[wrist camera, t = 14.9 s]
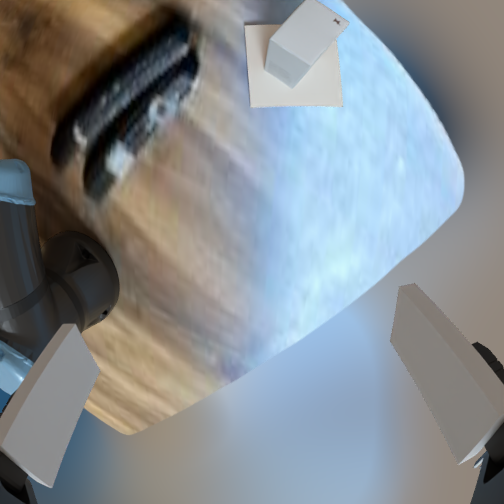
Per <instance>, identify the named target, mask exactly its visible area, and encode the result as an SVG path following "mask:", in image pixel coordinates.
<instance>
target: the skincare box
mask: <svg viewBox="0 0 504 504" xmlns="http://www.w3.org/2000/svg"><path fill="white" fill-rule="evenodd" d="M348 25H349V22H348V21H347V20H345V19H344V18H342V17H341V16H339V15H338V14H337V13H335V12H334V11H332V10H331V9H329V8H328V7H326V6H325V5H323V4H321V3H320V2H318V1H317V0H304V1H303V2H302V3H301V4H300V5H299V6H298V7H297V8H296V9H295V10H294V11H293V13H292V14H291V15H290V16H289V17H288V18H287V19H286V20H285V21H284V23H283V24H282V25H281V26H280V27H279V28H278V29H277V30H276V31H275V33H274V34H273V35H272V36H271V37H270V38H269V44H268V49H267V55H266V61H265V67H264V70H265V71H266V72H268V73H269V74H271V75H273V76H274V77H275V78H277V79H278V80H280V81H281V82H283V83H284V84H285V85H287V86H288V87H290V88H291V89H293V88H294V87H295V86H296V85H297V84H298V82H299V81H300V80H301V79H302V78H303V77H304V75H305V74H306V73H307V72H308V71H309V69H310V68H311V67H312V66H313V65H314V64H315V62H316V61H317V60H318V59H319V58H320V57H321V55H322V54H323V53H324V52H325V51H326V50H327V49H328V47H329V46H330V45H331V44H332V43H333V42H334V41H335V40H336V39H337V38H338V36H339V35H340V34H341V33H342V32H343V31H344V30H345V28H346V27H347V26H348Z"/></svg>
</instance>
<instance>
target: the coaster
mask: <svg viewBox="0 0 504 504" xmlns="http://www.w3.org/2000/svg"><path fill="white" fill-rule="evenodd" d="M280 26H281V25H247V26H245V38H246V51H247V64H248V78H249V91H250V105H251V108H263V107H343V100H342V87H341V76H340V66H339V56H338V48H337V40H335V41H334V42H333V43H332V44H331V45H330V46H329V47H328V49H327V50H326V51H325V52H324V53H323V54H322V55H321V57H320V58H319V59H318V60H317V61H316V62H315V64H314V65H313V66H312V67H311V68H310V69H309V71H308V72H307V73H306V74H305V75H304V77H303V78H302V79H301V80H300V81H299V82H298V84H297V85H296V86H295V87H294V88H293V89H291V88H290V87H288V86H287V85H285V84H284V83H283V82H281V81H280V80H278V79H277V78H275V77H274V76H273V75H271V74H269V73H268V72H266V71H265V70H264V67H265V61H266V55H267V49H268V44H269V38H270V37H271V36H272V35H273V34H274V33H275V31H276V30H277V29H278V28H279V27H280Z"/></svg>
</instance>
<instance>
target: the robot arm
mask: <svg viewBox="0 0 504 504" xmlns="http://www.w3.org/2000/svg"><path fill="white" fill-rule="evenodd" d="M35 204H36V201H35V199H34V198H33V192H32V184H31V174H30V170H29V167H28V165H27V164H26V163H25V162H24V161H22V160H20V159H3V160H0V388H1V389H2V390H4V391H5V392H7V393H9V394H10V395H11V397H10V398H9V400H8V402H7V403H6V404H7V405H6V406H5V407H4V408H3V410H2V413H0V504H37V501H36V498H35V495H34V491H33V488H32V485H31V483H30V481H29V480H28V479H27V476H28V475H29V476H31V477H32V478H33V479H34V480H36V481H37V482H38V483H41V484H43V485H46V486H48V487H50V488H52V486H53V484H54V481H55V478H56V475H57V472H58V469H59V466H60V464H61V461H62V459H63V456H64V453H65V451H66V448H67V445H68V443H69V440H70V438H71V435H72V433H73V431H74V428H75V426H76V423H77V421H78V419H79V416H80V414H81V411H82V409H83V407H84V405H85V403H86V400H87V398H88V396H89V394H90V392H91V389H92V387H93V385H94V383H95V381H96V379H97V377H98V375H99V372H100V369H99V367H98V366H97V364H96V362H95V360H94V359H93V357H92V355H91V353H90V351H89V349H88V347H87V346H86V344H85V342H84V340H83V338H82V336H81V333H82V332H83V331H84V330H86V329H88V328H90V327H91V326H93V325H95V324H97V323H99V322H100V321H102V320H104V319H105V318H106V317H107V316H108V315H109V314H110V312H111V311H112V309H113V308H114V306H115V305H116V303H117V301H118V297H119V279H118V275H117V272H116V269H115V267H114V265H113V263H112V261H111V259H110V257H109V256H108V255H107V253H106V252H105V251H104V249H103V248H102V247H101V246H100V245H99V244H98V243H96V242H95V241H94V240H93V239H91V238H90V237H88V236H86V235H84V234H81V233H78V232H73V231H67V232H62V233H59V234H57V235H55V236H54V237H52V238H51V239H49V240H48V241H47V242H46V243H45V244H44V245H43V246H42V248H40V242H39V236H38V230H37V223H36V216H35V208H34V205H35ZM390 342H391V343H392V345H393V346H394V348H395V350H396V352H397V353H398V355H399V356H400V358H401V360H402V362H403V363H404V365H405V366H406V368H407V370H408V372H409V373H410V375H411V377H412V378H413V380H414V382H415V384H416V385H417V387H418V389H419V391H420V392H421V394H422V396H423V398H424V400H425V401H426V403H427V405H428V407H429V409H430V411H431V412H432V414H433V416H434V418H435V420H436V422H437V424H438V426H439V427H440V430H441V432H442V433H443V435H444V437H445V439H446V441H447V443H448V445H449V447H450V449H451V451H452V454H453V455H454V458H455V460H456V462H457V464H458V465H459V464H461V463H463V462H464V461H466V460H468V459H470V458H472V457H473V456H475V455H476V454H477V453H478V452H479V451H480V450H481V448H483V447H484V446H485V448H486V450H487V451H486V452H485V453H484V454H483V455H482V456H481V457H480V458H479V459H478V460H477V461H476V463H475V465H474V468H476V467H477V466H478V465H479V464H480V463H481V462H482V465H481V467H480V469H481V470H480V474H479V477H478V481H477V484H476V488H475V491H474V494H473V497H472V500H471V503H470V504H504V369H503V365H502V364H501V363H500V362H499V361H497V358H496V357H495V356H494V355H493V354H492V352H491V351H490V350H489V349H488V348H486V347H485V346H483V345H482V344H480V343H478V342H476V343H474V344H471V343H470V342H469V341H468V340H467V339H466V337H465V336H464V335H463V334H462V333H461V332H460V331H459V329H458V328H457V327H456V326H455V325H454V324H453V323H452V322H451V321H450V319H449V318H448V317H447V316H446V315H445V314H444V313H443V312H442V311H441V310H440V309H439V308H438V307H437V305H436V304H435V303H434V302H433V301H432V300H431V299H430V298H429V297H428V296H427V295H426V294H425V293H424V292H423V291H422V290H421V289H420V288H419V287H418V286H417V285H416V284H415V283H414V284H409V285H404V286H399V290H398V297H397V304H396V311H395V317H394V322H393V328H392V333H391V339H390Z"/></svg>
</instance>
